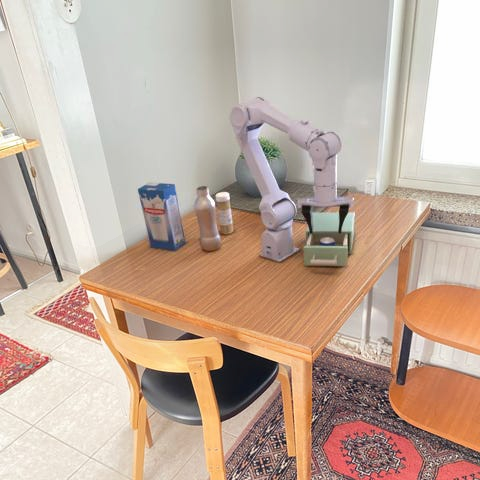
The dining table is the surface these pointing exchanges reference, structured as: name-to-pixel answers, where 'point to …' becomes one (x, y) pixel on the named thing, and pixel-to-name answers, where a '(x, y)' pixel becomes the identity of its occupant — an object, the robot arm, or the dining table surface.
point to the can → (326, 241)
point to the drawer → (326, 250)
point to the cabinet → (333, 225)
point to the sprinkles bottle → (224, 212)
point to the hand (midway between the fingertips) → (325, 231)
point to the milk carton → (162, 215)
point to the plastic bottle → (206, 219)
